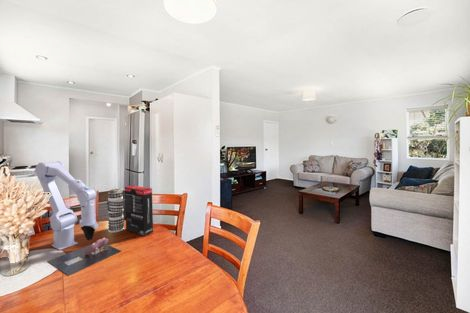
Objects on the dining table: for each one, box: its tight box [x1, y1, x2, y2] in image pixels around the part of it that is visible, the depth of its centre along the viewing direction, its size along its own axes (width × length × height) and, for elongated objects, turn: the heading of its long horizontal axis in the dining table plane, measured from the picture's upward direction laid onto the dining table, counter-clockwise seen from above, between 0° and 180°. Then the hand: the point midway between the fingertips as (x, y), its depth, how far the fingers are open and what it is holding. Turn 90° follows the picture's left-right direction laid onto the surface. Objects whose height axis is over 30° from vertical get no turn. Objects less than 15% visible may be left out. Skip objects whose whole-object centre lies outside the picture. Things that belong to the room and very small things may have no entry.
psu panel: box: [47, 243, 122, 276], centre depth 98 cm, size 20×22×1 cm
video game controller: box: [85, 237, 110, 255], centre depth 102 cm, size 10×5×7 cm, turn 168°
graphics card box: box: [124, 184, 154, 237], centre depth 124 cm, size 17×7×27 cm, turn 63°
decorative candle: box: [106, 188, 125, 234], centre depth 127 cm, size 9×9×25 cm
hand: (89, 239), depth 105 cm, fingers closed
